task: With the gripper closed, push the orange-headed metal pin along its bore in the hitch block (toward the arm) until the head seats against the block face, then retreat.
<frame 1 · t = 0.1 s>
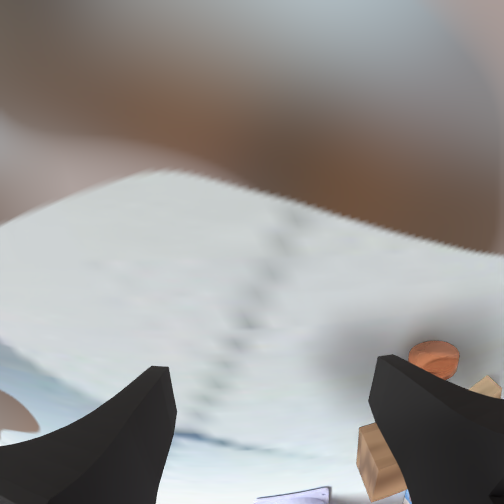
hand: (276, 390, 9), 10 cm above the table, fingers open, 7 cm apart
pin: (424, 412, 19), point 3 cm above the table, slide at 0.0 cm
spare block: (472, 399, 23), on the table
hitch block: (404, 431, 23), on the table
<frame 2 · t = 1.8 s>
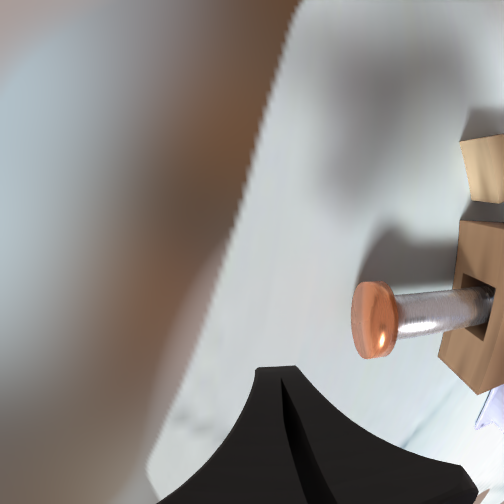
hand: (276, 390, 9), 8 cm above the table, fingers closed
pin: (451, 309, 15), point 3 cm above the table, slide at 0.0 cm
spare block: (486, 165, 16), on the table
hitch block: (479, 289, 17), on the table
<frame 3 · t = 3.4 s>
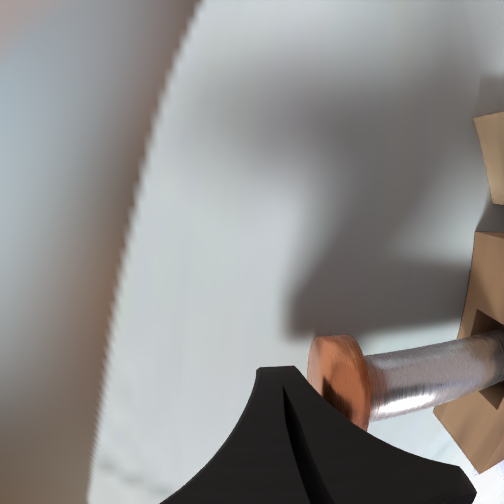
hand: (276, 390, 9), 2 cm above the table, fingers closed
pin: (460, 368, 9), point 3 cm above the table, slide at 0.1 cm, touching gripper
hitch block: (494, 325, 12), on the table
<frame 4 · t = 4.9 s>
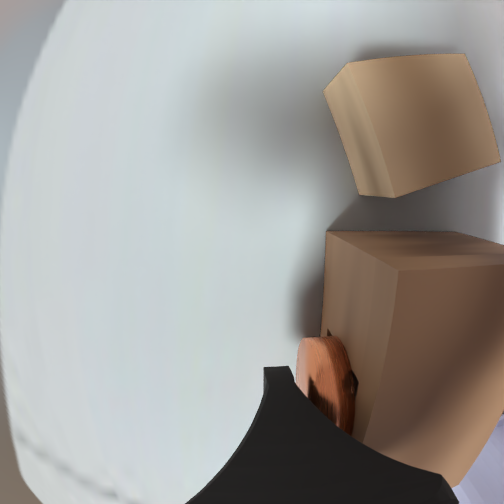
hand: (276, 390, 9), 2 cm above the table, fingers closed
pin: (452, 370, 9), point 3 cm above the table, slide at 7.0 cm, touching gripper, hitch block
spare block: (395, 128, 10), on the table
hitch block: (384, 348, 12), on the table
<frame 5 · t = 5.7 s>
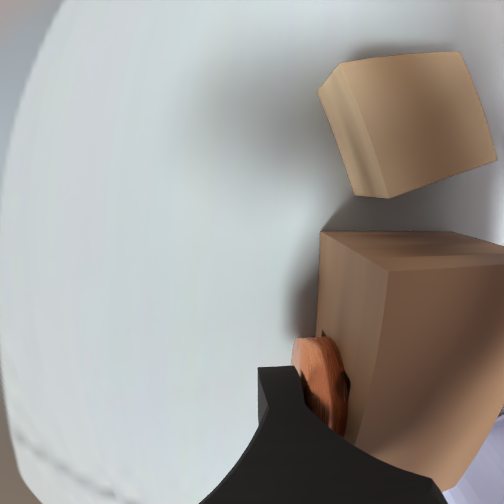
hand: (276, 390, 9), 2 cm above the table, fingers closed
pin: (448, 371, 9), point 3 cm above the table, slide at 7.0 cm, touching gripper, hitch block
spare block: (391, 127, 10), on the table
hitch block: (380, 348, 12), on the table
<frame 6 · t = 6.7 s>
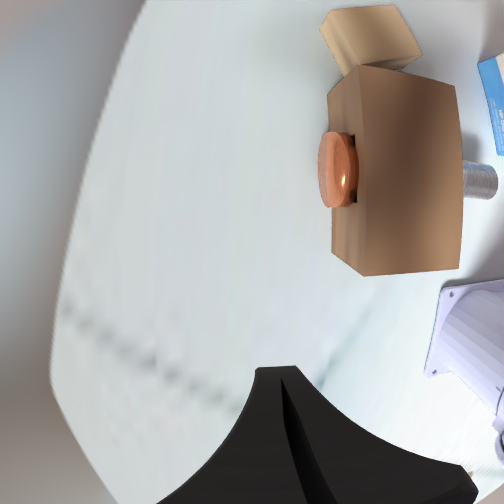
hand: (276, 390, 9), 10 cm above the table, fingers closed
pin: (422, 174, 15), point 3 cm above the table, slide at 7.0 cm, touching hitch block
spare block: (362, 49, 16), on the table
hitch block: (375, 173, 18), on the table
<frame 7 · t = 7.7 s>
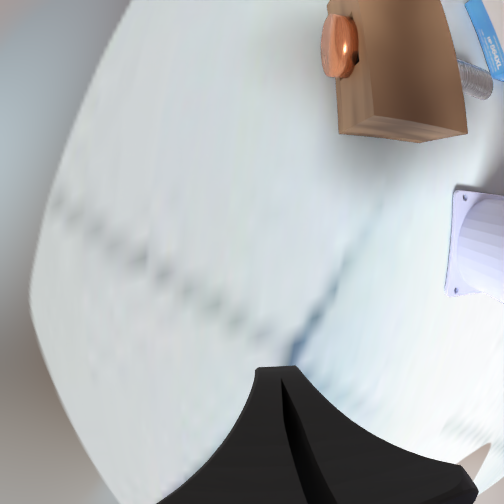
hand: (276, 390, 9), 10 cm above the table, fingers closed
ink box: (502, 49, 16), on the table
pin: (418, 62, 14), point 3 cm above the table, slide at 7.0 cm, touching hitch block
hitch block: (375, 69, 16), on the table
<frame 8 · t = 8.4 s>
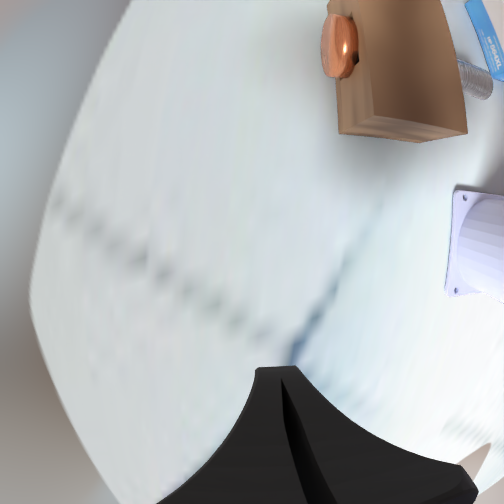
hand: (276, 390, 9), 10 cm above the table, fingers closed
ink box: (502, 49, 16), on the table
pin: (418, 62, 14), point 3 cm above the table, slide at 7.0 cm, touching hitch block
hitch block: (375, 69, 16), on the table
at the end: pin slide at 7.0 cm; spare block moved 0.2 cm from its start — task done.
